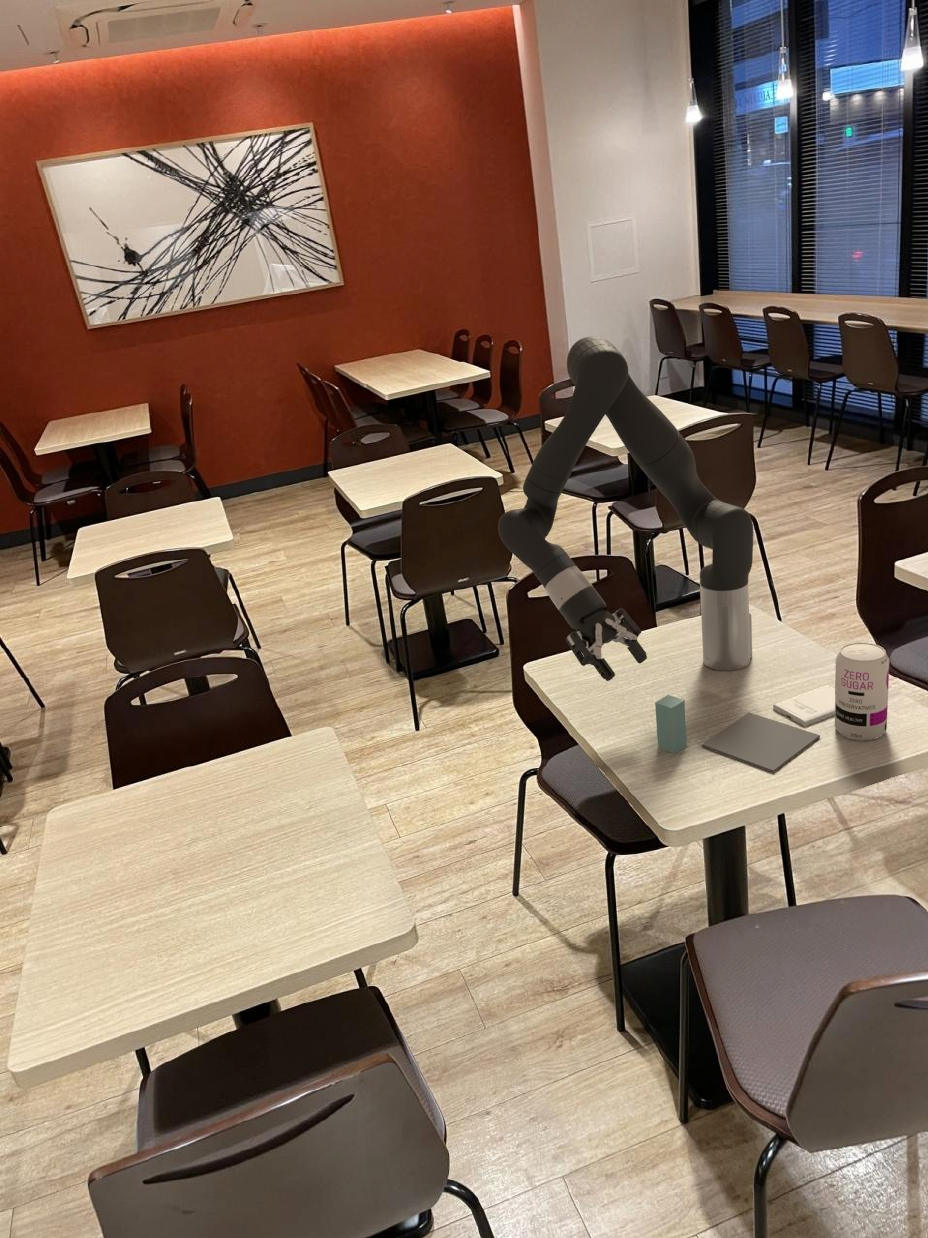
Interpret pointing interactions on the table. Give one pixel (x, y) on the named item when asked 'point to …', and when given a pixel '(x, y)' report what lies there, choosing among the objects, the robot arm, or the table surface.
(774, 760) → the gray mat
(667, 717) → the teal block
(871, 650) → the supplement can
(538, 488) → the robot arm
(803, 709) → the external hard drive
